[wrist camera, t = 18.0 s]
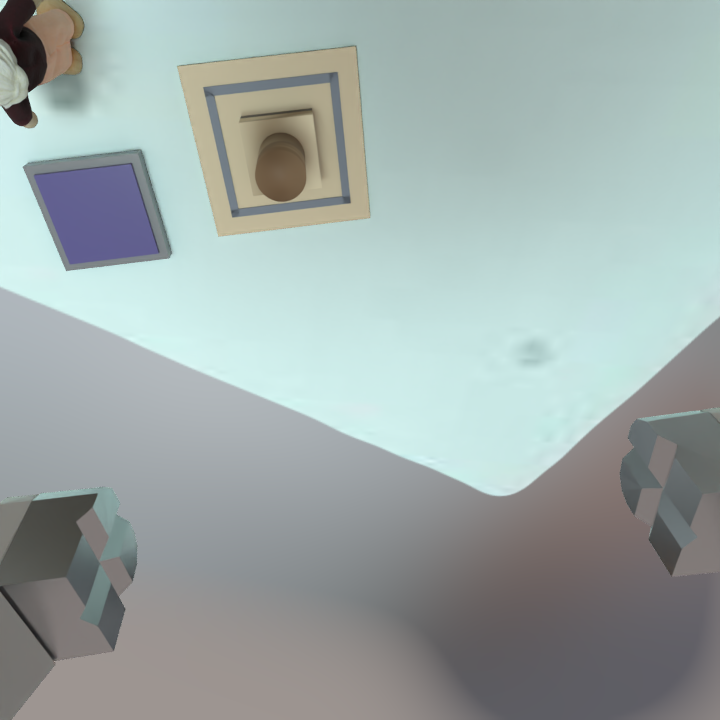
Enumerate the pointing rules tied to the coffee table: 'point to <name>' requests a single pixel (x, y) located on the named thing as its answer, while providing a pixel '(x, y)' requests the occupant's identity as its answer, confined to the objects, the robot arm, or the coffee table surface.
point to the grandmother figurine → (35, 51)
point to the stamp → (281, 153)
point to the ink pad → (100, 209)
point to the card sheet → (268, 95)
